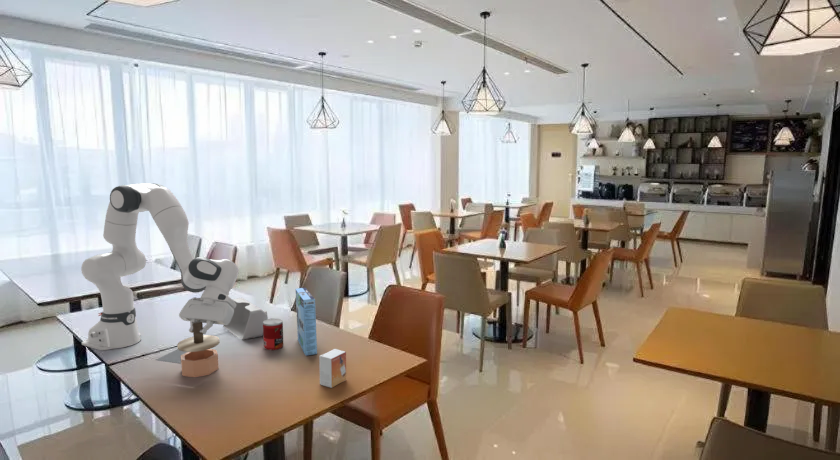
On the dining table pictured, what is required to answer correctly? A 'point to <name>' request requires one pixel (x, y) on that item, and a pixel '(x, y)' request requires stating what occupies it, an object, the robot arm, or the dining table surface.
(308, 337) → the blue cereal box
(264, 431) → the dining table surface
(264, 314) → the grey open bin
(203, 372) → the bowl
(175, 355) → the mat
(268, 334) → the canned food
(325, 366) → the small box
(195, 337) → the lid
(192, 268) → the robot arm
